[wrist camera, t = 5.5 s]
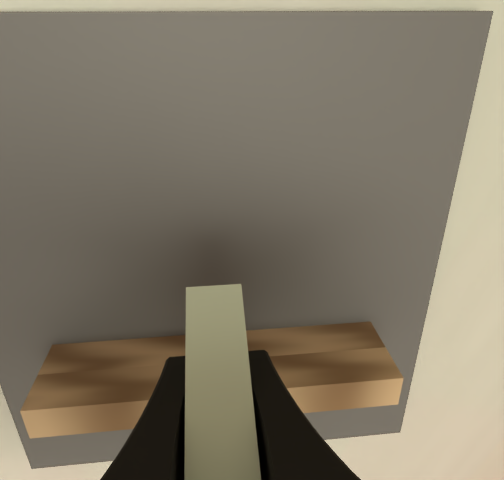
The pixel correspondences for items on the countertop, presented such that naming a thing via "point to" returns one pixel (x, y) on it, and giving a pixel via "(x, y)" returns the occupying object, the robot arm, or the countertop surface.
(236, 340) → the sage notched plate
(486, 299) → the countertop surface
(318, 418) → the board
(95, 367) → the oak slotted plate
